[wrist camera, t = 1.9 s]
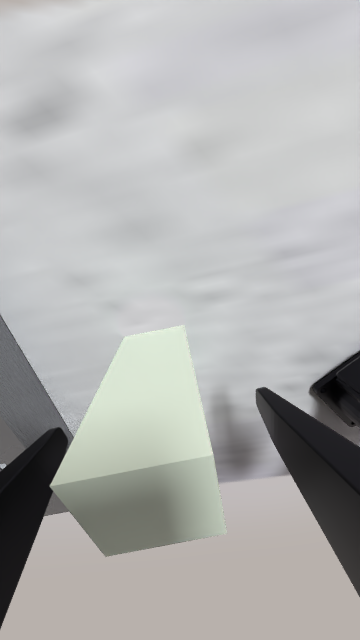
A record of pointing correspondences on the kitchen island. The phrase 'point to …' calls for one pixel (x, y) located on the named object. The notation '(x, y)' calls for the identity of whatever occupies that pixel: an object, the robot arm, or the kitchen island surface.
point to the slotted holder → (24, 408)
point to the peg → (144, 452)
